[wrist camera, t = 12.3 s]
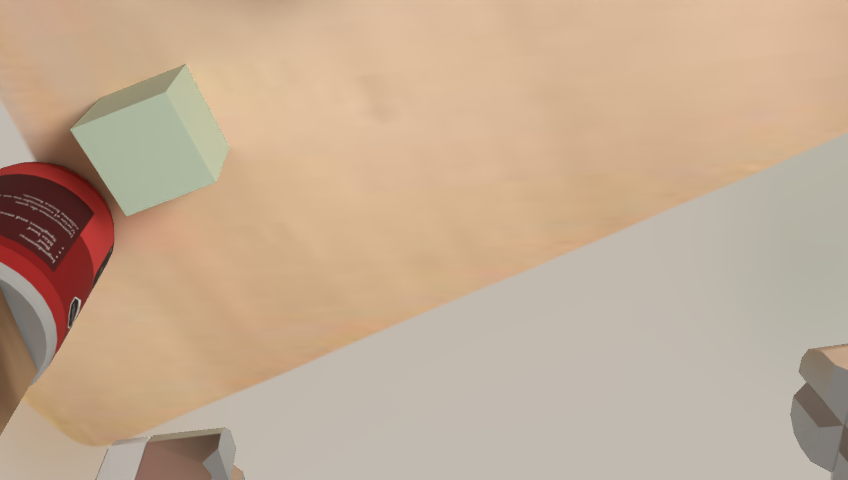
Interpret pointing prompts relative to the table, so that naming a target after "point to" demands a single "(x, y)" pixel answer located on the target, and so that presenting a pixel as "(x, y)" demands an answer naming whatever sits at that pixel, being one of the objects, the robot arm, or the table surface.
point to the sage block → (153, 140)
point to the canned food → (50, 251)
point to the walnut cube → (12, 364)
